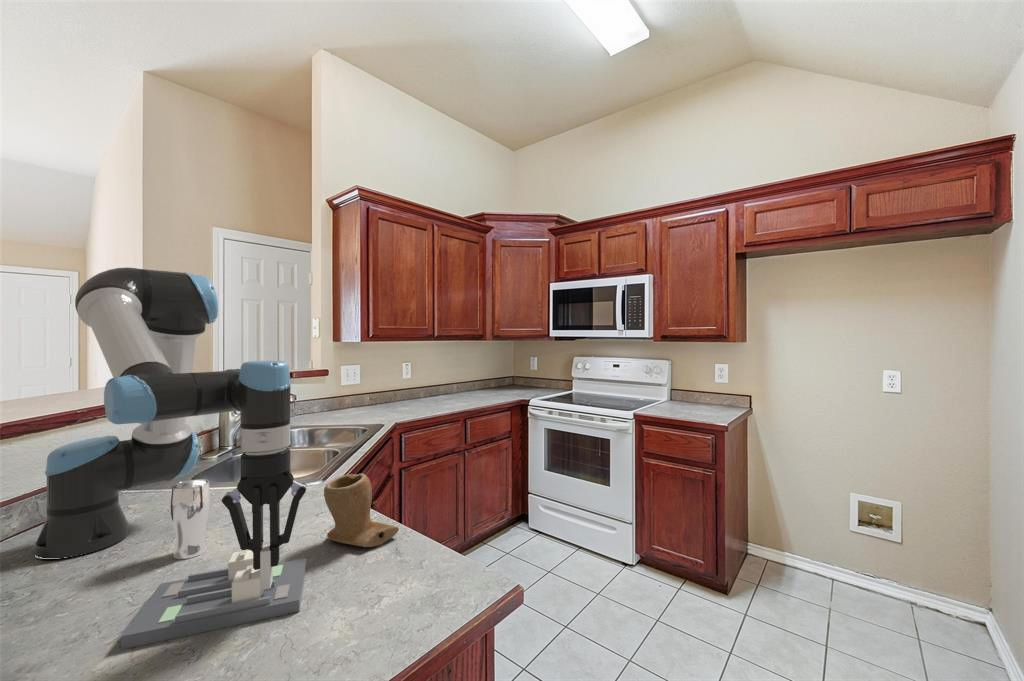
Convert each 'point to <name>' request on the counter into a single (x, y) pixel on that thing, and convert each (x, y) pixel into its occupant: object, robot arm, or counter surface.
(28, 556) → the counter surface
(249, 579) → the tab
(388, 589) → the counter surface
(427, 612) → the counter surface
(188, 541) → the beer glass
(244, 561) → the tab
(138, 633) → the switch board
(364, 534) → the clay platform pipe
